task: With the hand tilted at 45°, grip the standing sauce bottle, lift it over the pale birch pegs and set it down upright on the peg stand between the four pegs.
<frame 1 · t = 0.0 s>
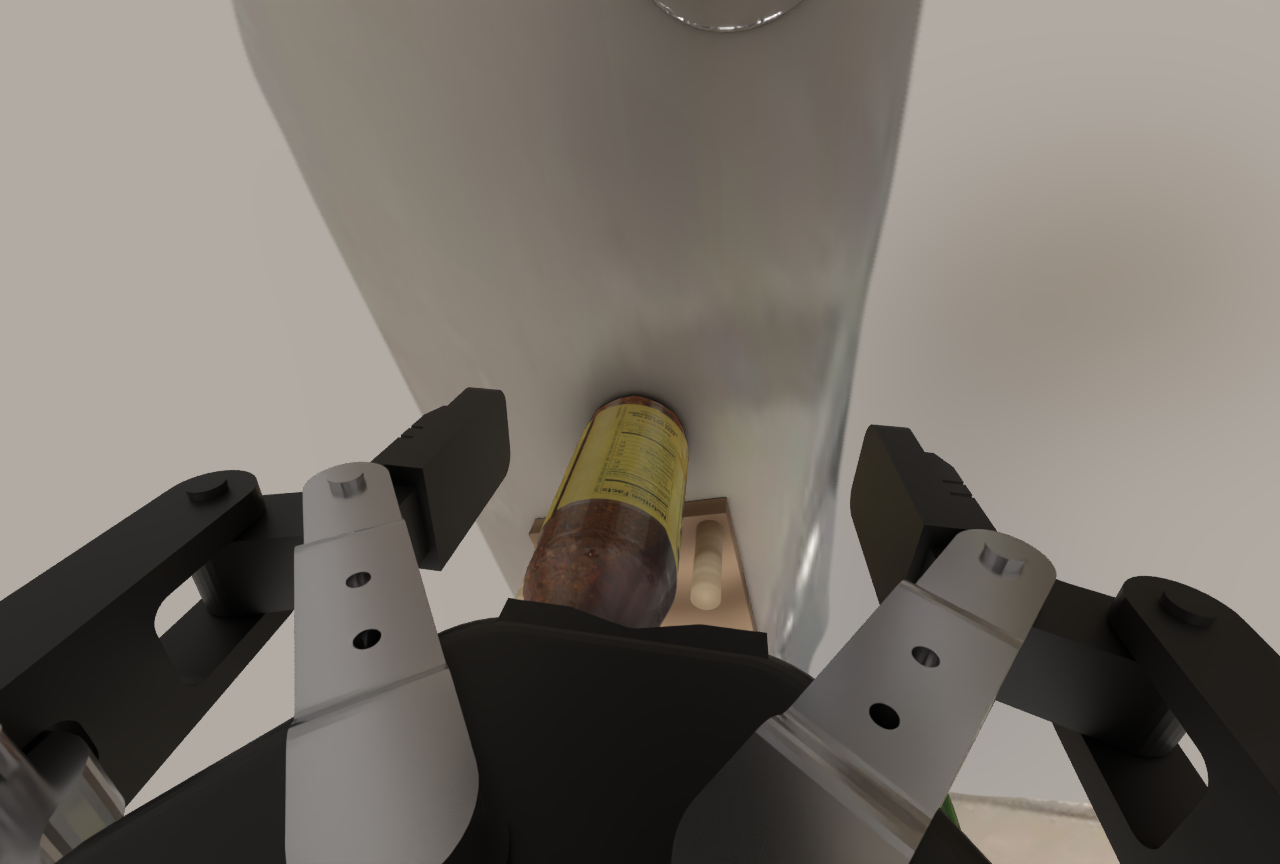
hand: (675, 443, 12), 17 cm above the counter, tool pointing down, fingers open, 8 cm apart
peg stand: (651, 580, 39), on the counter
sauce bottle: (640, 432, 33), on the counter
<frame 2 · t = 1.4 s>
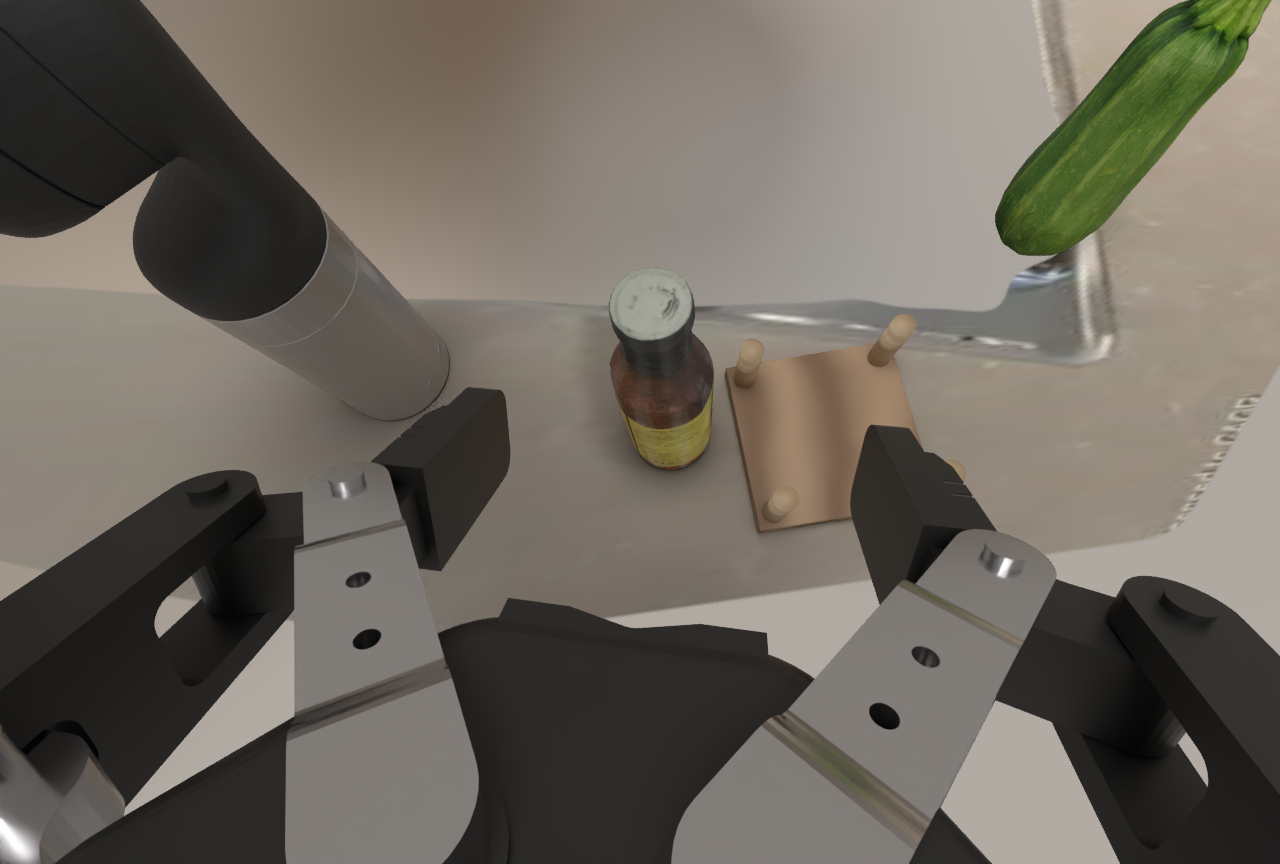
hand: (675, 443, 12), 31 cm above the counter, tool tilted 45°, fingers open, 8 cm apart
peg stand: (822, 437, 44), on the counter
sauce bottle: (669, 434, 45), on the counter
vegetable: (1022, 236, 48), on the counter
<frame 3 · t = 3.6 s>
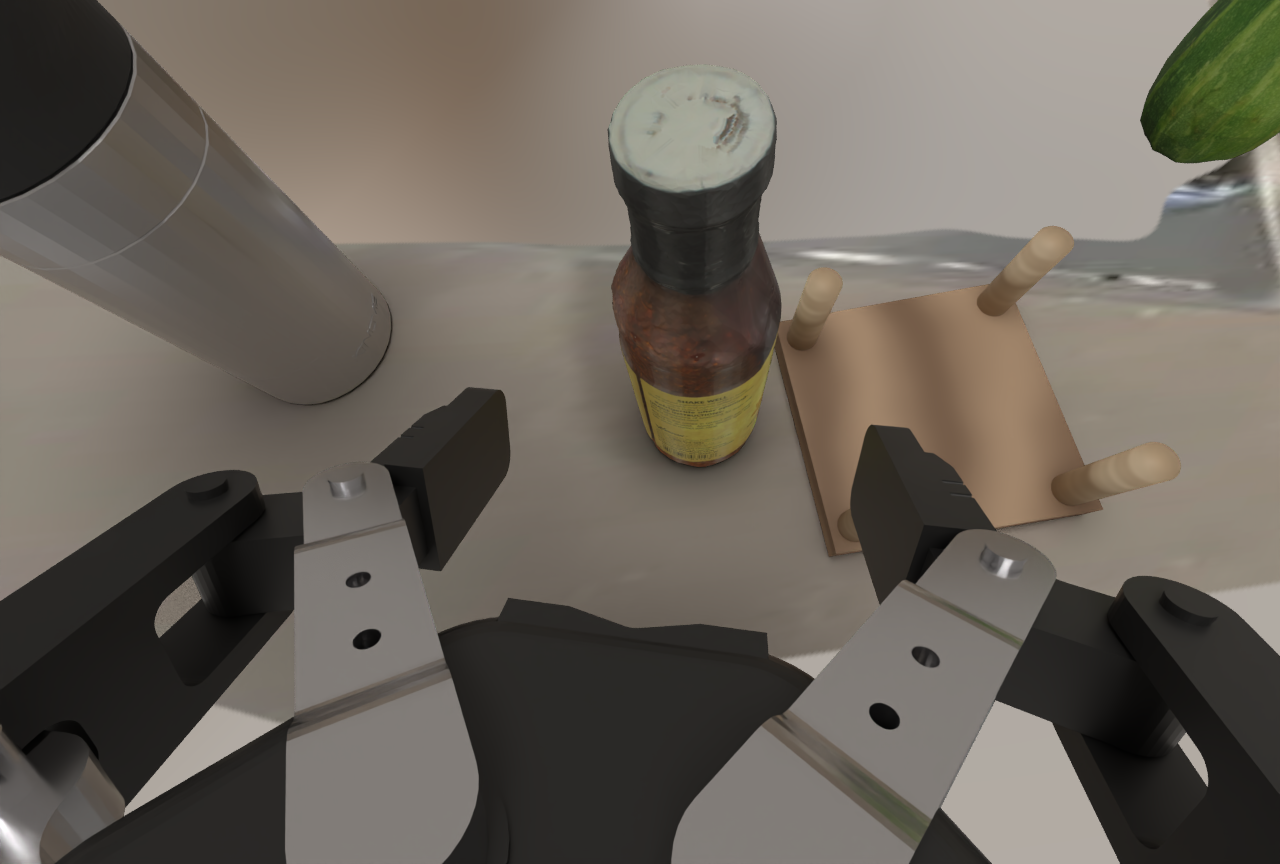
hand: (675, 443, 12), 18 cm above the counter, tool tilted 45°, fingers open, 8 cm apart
peg stand: (915, 418, 31), on the counter
sauce bottle: (695, 417, 32), on the counter
vegetable: (1173, 142, 35), on the counter
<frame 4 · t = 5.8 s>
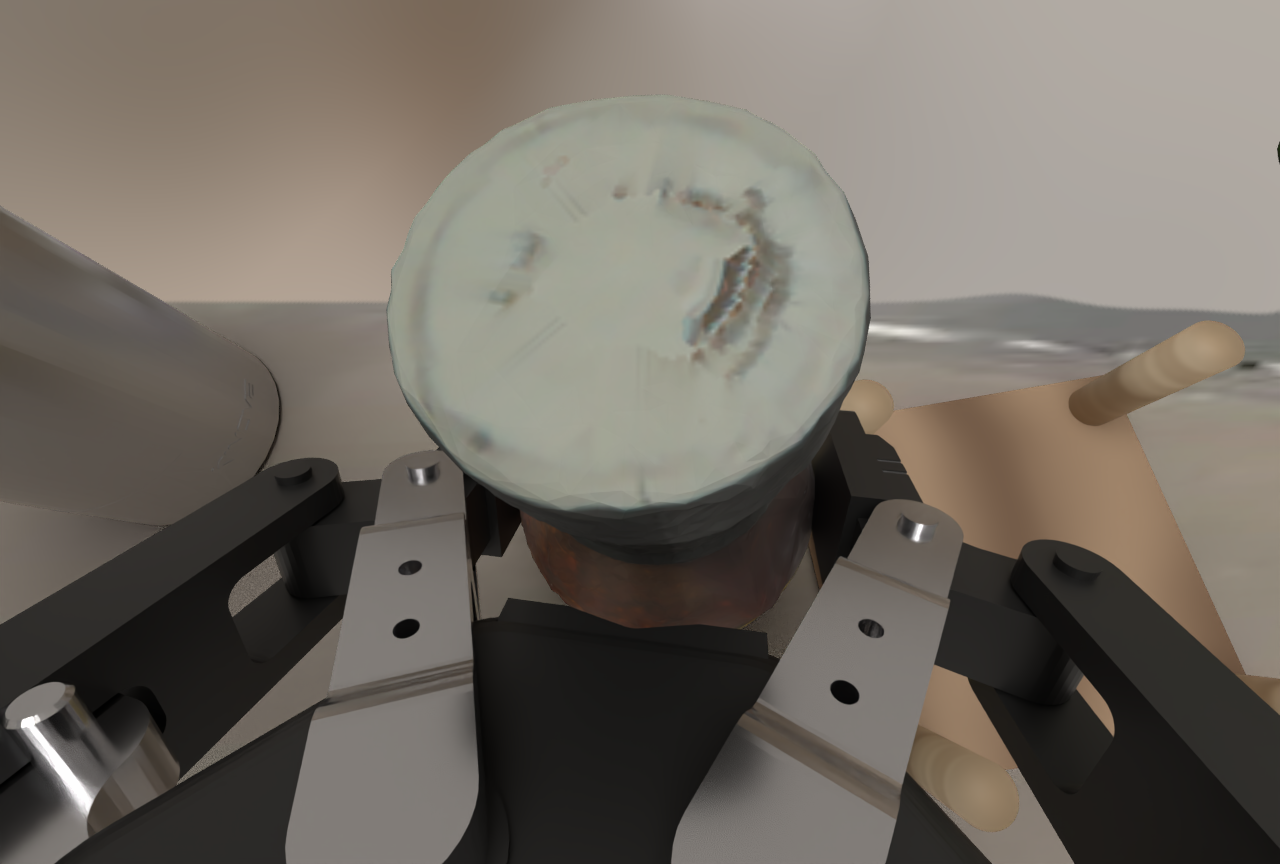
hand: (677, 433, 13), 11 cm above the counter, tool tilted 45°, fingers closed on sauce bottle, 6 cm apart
peg stand: (983, 566, 22), on the counter
sauce bottle: (679, 554, 23), on the counter, touching gripper
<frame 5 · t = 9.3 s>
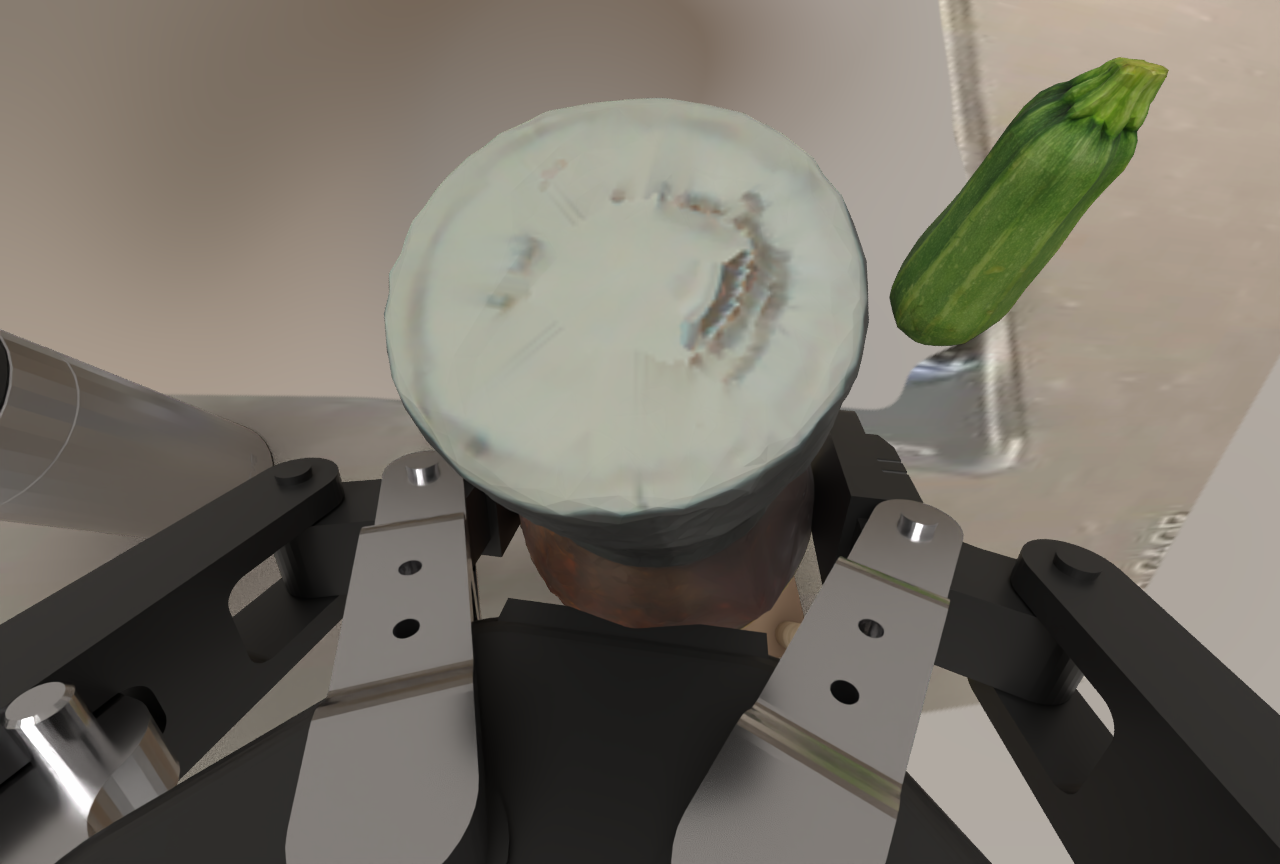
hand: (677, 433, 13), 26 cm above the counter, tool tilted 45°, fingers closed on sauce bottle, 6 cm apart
peg stand: (688, 564, 38), on the counter
sauce bottle: (678, 555, 23), point 15 cm above the counter, touching gripper
vegetable: (924, 319, 42), on the counter
when the fingers open (14 cm above the counter, at t = 12.9 s): sauce bottle drops 1 cm, resting on peg stand.
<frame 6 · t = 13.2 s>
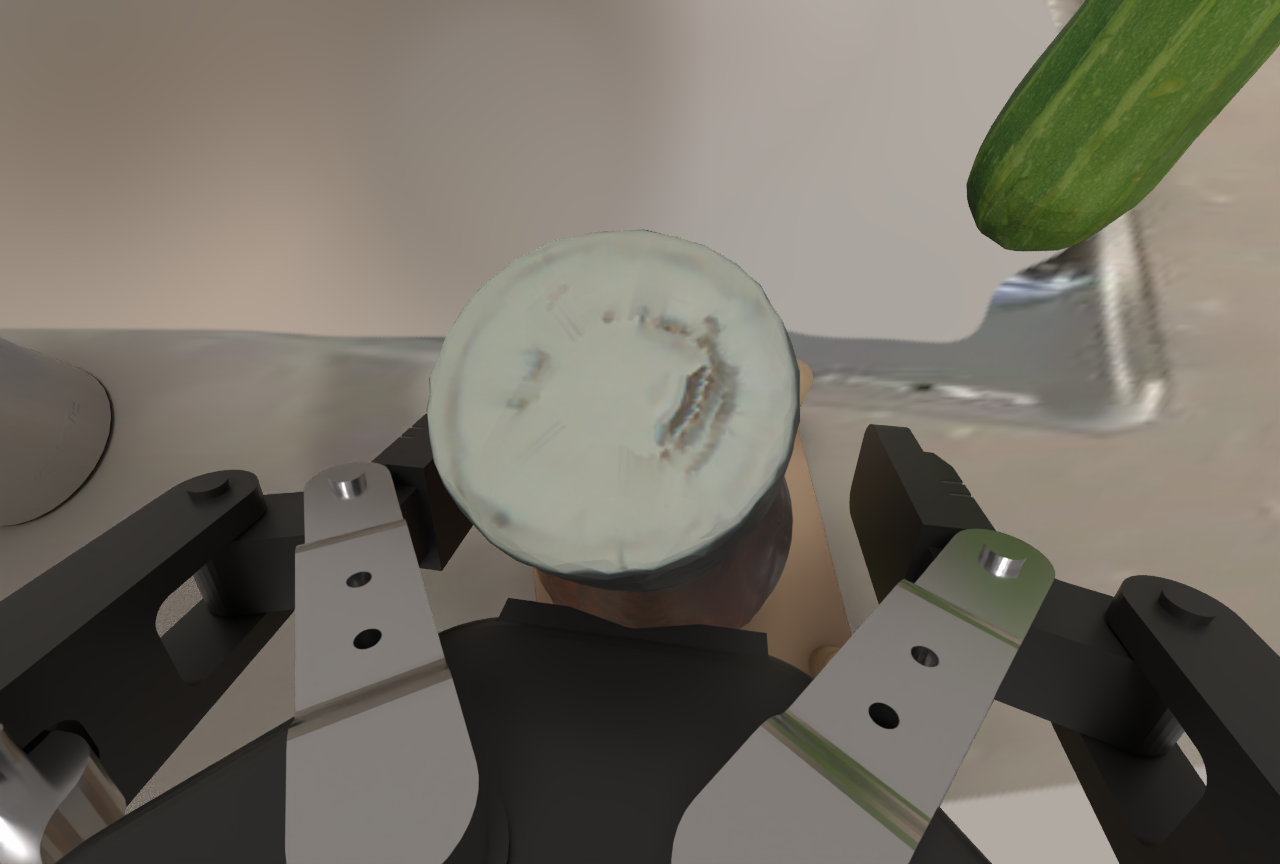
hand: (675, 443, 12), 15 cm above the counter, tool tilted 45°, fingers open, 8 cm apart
peg stand: (678, 559, 26), on the counter
sauce bottle: (675, 562, 25), point 1 cm above the counter, touching peg stand
vegetable: (1011, 221, 30), on the counter
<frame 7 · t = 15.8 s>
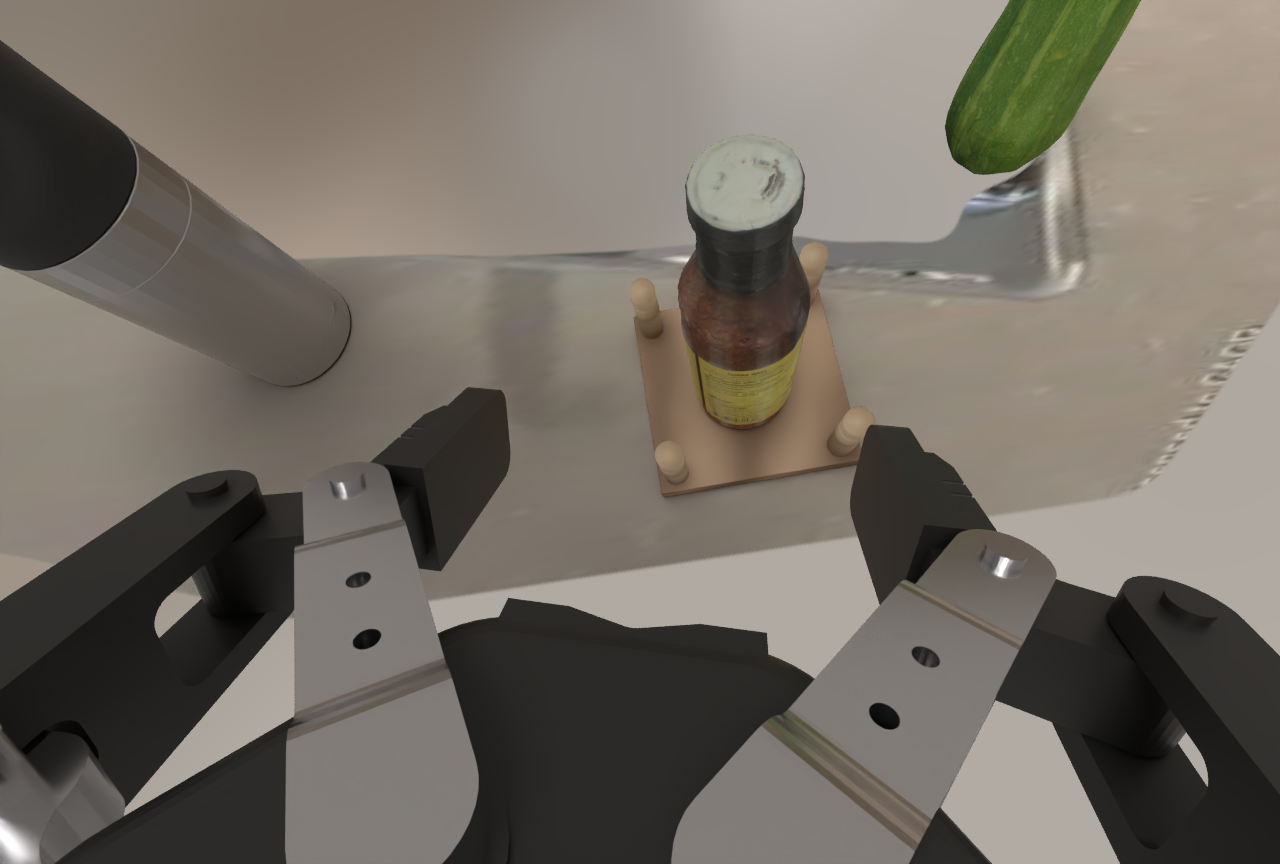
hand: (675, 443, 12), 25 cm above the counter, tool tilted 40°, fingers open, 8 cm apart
peg stand: (740, 390, 39), on the counter
sauce bottle: (739, 387, 38), point 1 cm above the counter, touching peg stand
vegetable: (981, 154, 41), on the counter
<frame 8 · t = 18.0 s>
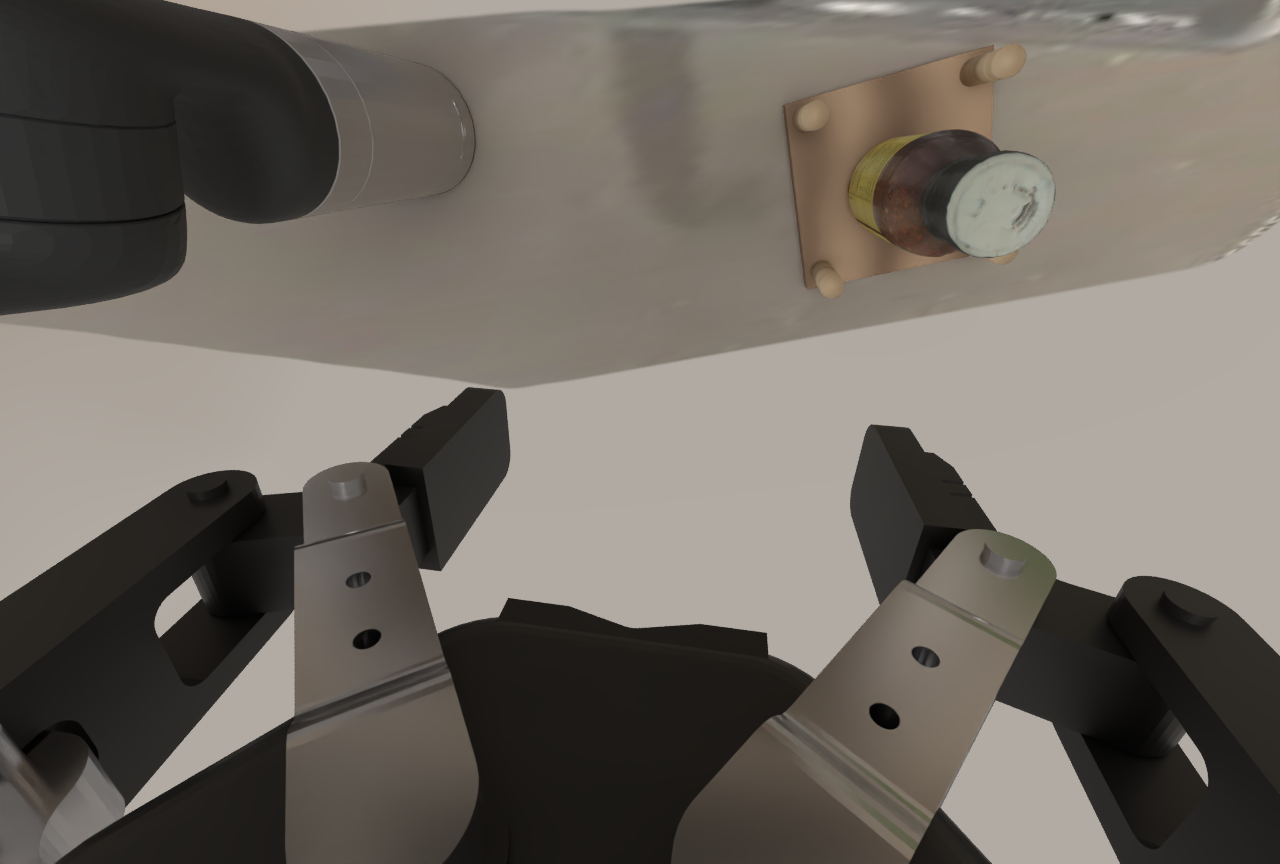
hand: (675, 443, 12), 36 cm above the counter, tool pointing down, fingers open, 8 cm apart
peg stand: (885, 179, 41), on the counter
sauce bottle: (887, 183, 40), point 1 cm above the counter, touching peg stand
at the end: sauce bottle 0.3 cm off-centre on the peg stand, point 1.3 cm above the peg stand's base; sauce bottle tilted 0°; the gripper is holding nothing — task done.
